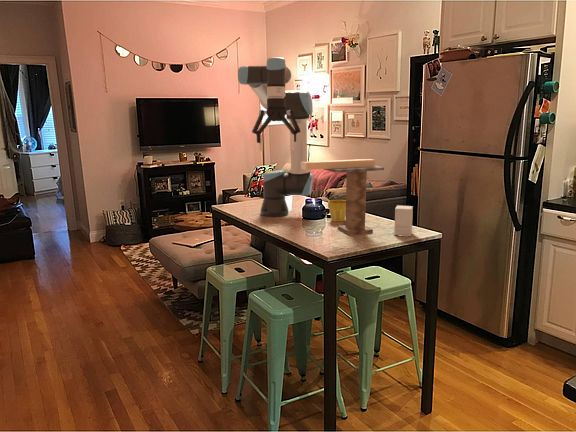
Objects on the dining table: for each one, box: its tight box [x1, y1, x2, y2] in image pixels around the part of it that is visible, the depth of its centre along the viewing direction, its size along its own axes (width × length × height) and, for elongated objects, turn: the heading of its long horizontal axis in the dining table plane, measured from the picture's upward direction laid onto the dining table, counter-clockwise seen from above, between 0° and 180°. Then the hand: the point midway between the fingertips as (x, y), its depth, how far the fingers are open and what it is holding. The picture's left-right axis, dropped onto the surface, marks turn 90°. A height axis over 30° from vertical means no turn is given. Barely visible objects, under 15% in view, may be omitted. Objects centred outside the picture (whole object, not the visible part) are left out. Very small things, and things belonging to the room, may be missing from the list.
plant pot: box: [327, 199, 346, 223], centre depth 245 cm, size 10×10×10 cm
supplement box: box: [393, 204, 414, 237], centre depth 217 cm, size 7×7×13 cm
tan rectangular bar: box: [301, 158, 376, 171], centre depth 215 cm, size 34×5×3 cm, turn 109°
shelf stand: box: [323, 165, 385, 236], centre depth 221 cm, size 24×14×30 cm, turn 109°
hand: (276, 150), depth 200 cm, fingers open, 13 cm apart
